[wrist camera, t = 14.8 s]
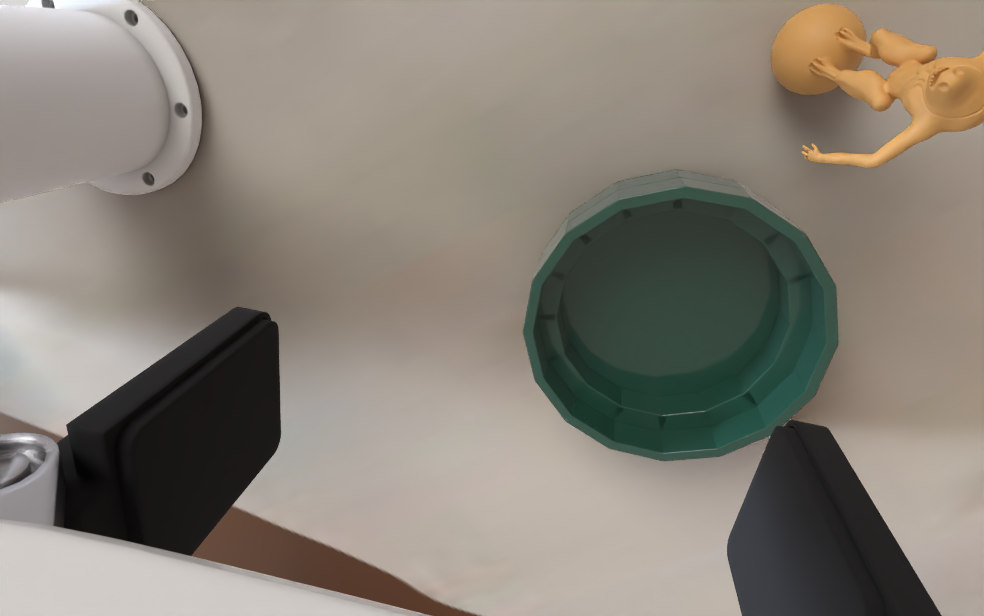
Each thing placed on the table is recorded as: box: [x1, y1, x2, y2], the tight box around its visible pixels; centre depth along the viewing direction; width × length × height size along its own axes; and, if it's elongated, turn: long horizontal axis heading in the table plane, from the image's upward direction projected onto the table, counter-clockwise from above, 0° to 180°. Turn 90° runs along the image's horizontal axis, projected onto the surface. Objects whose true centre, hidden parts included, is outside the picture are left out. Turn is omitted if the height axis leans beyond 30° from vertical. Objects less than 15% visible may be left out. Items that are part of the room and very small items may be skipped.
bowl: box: [523, 170, 838, 461], centre depth 34 cm, size 16×16×5 cm
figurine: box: [771, 4, 984, 168], centre depth 24 cm, size 8×6×12 cm
